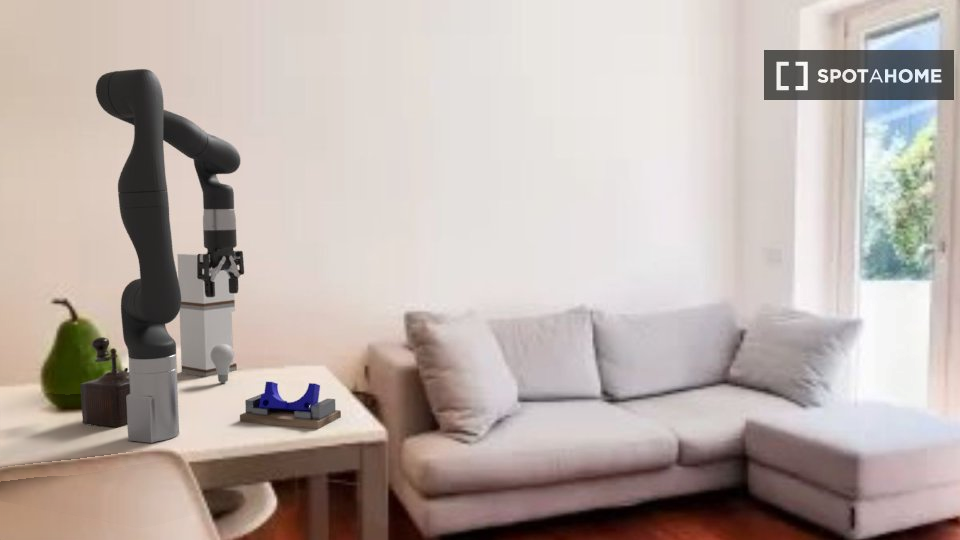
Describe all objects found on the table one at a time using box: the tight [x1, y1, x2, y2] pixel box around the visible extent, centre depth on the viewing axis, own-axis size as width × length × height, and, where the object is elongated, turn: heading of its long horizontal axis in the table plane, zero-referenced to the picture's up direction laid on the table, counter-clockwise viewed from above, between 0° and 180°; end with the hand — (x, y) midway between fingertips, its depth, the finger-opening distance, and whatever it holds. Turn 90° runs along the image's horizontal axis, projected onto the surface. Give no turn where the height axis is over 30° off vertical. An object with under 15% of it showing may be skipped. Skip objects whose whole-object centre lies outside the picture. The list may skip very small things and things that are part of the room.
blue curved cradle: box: [259, 381, 321, 411], centre depth 172 cm, size 12×4×6 cm, turn 79°
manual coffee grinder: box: [80, 336, 130, 429], centre depth 173 cm, size 16×11×18 cm
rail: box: [239, 392, 342, 430], centre depth 172 cm, size 10×20×4 cm, turn 72°
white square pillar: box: [176, 251, 238, 378], centre depth 223 cm, size 11×11×35 cm
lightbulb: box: [211, 344, 235, 384], centre depth 208 cm, size 6×6×11 cm
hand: (222, 295), depth 184 cm, fingers open, 8 cm apart
